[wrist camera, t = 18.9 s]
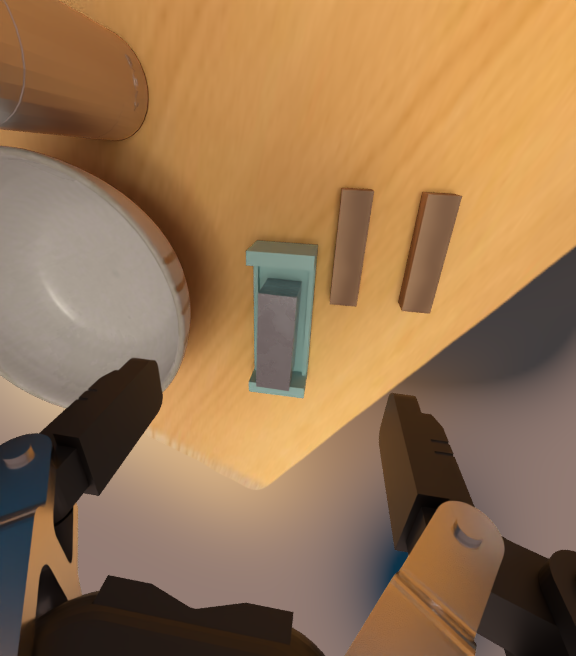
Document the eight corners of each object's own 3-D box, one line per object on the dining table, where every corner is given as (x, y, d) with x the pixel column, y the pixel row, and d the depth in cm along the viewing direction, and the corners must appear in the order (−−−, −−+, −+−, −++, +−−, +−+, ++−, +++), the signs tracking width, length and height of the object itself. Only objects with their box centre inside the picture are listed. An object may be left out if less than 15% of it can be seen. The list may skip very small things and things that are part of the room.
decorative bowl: (269, 279, 39) (241, 324, 28) (151, 387, 50) (99, 448, 39) (84, 87, 32) (-43, 50, 22) (-5, 260, 43) (-117, 292, 33)
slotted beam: (330, 295, 38) (329, 304, 36) (342, 187, 33) (342, 189, 31) (424, 304, 37) (429, 313, 35) (453, 193, 32) (462, 196, 29)
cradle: (257, 369, 45) (249, 391, 41) (257, 240, 37) (245, 250, 32) (307, 374, 44) (303, 398, 40) (317, 244, 36) (314, 256, 31)
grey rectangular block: (264, 363, 43) (256, 386, 38) (267, 277, 37) (258, 293, 33) (294, 367, 42) (288, 391, 38) (302, 281, 37) (296, 297, 32)
